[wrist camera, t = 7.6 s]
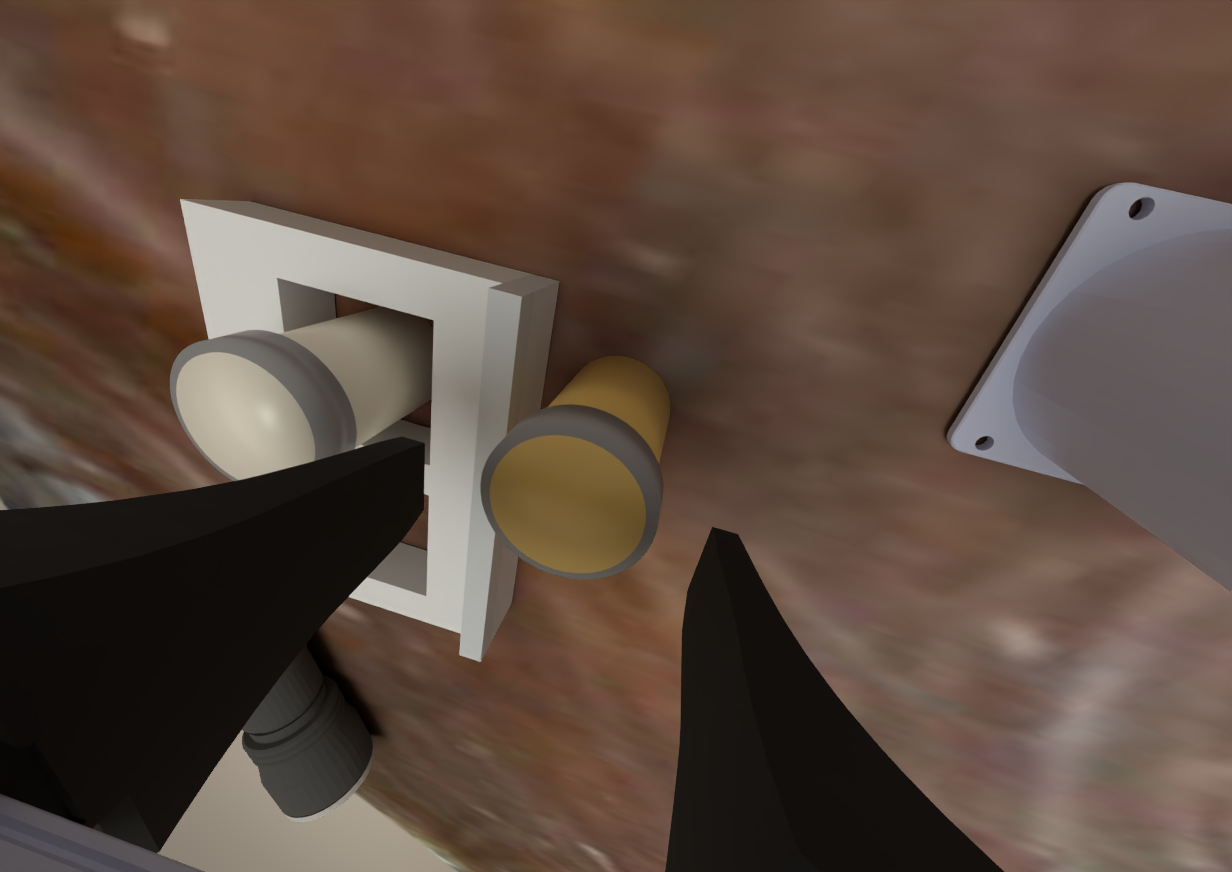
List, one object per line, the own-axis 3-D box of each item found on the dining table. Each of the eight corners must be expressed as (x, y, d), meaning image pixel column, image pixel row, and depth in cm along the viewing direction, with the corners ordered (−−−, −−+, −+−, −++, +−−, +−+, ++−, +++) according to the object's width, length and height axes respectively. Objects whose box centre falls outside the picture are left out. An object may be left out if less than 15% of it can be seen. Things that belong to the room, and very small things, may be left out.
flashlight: (220, 555, 27) (111, 628, 22) (294, 554, 25) (196, 632, 21) (327, 728, 33) (261, 816, 28) (392, 735, 31) (333, 828, 27)
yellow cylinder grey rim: (693, 366, 16) (680, 457, 10) (661, 473, 18) (633, 602, 12) (570, 333, 17) (485, 401, 11) (552, 442, 19) (472, 552, 13)
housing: (559, 281, 16) (522, 296, 13) (511, 602, 23) (480, 662, 20) (249, 201, 17) (145, 198, 14) (297, 534, 24) (236, 581, 21)
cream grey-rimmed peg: (461, 317, 17) (317, 372, 11) (451, 423, 19) (326, 519, 13) (349, 282, 18) (148, 317, 11) (352, 390, 20) (184, 470, 13)
